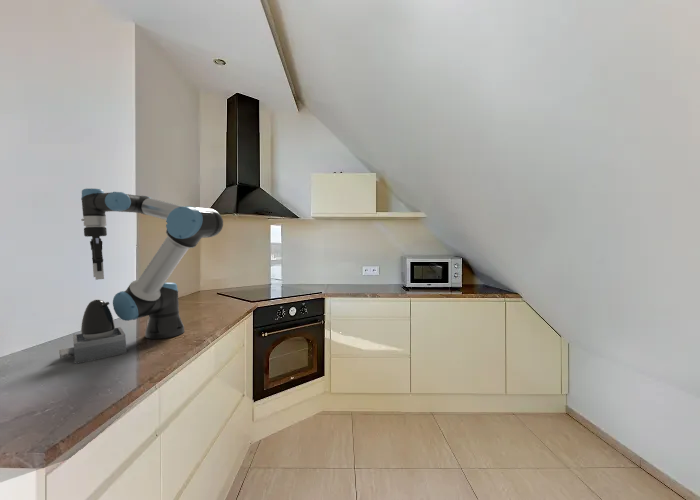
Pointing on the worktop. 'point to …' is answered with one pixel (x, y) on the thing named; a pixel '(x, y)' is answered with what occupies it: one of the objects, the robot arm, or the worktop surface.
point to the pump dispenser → (97, 321)
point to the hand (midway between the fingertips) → (98, 278)
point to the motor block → (96, 347)
